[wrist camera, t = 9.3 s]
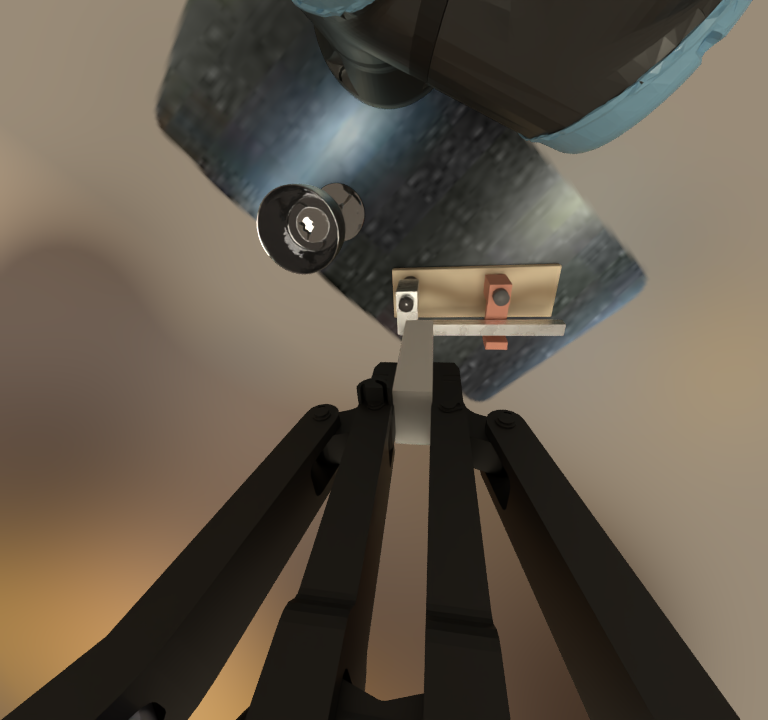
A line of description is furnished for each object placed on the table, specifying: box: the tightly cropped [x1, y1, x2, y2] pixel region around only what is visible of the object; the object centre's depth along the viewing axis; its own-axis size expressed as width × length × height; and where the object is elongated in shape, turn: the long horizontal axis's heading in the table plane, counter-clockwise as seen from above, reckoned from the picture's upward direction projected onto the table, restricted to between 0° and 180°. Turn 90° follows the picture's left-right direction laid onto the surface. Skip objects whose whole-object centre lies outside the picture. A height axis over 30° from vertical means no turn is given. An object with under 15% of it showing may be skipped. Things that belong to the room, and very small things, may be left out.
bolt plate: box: [392, 264, 562, 317], centre depth 45 cm, size 7×22×1 cm, turn 94°
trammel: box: [396, 279, 566, 336], centre depth 41 cm, size 6×20×8 cm, turn 94°
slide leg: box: [483, 274, 512, 350], centre depth 42 cm, size 8×3×6 cm, turn 4°
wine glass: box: [257, 183, 365, 274], centre depth 36 cm, size 8×8×15 cm
